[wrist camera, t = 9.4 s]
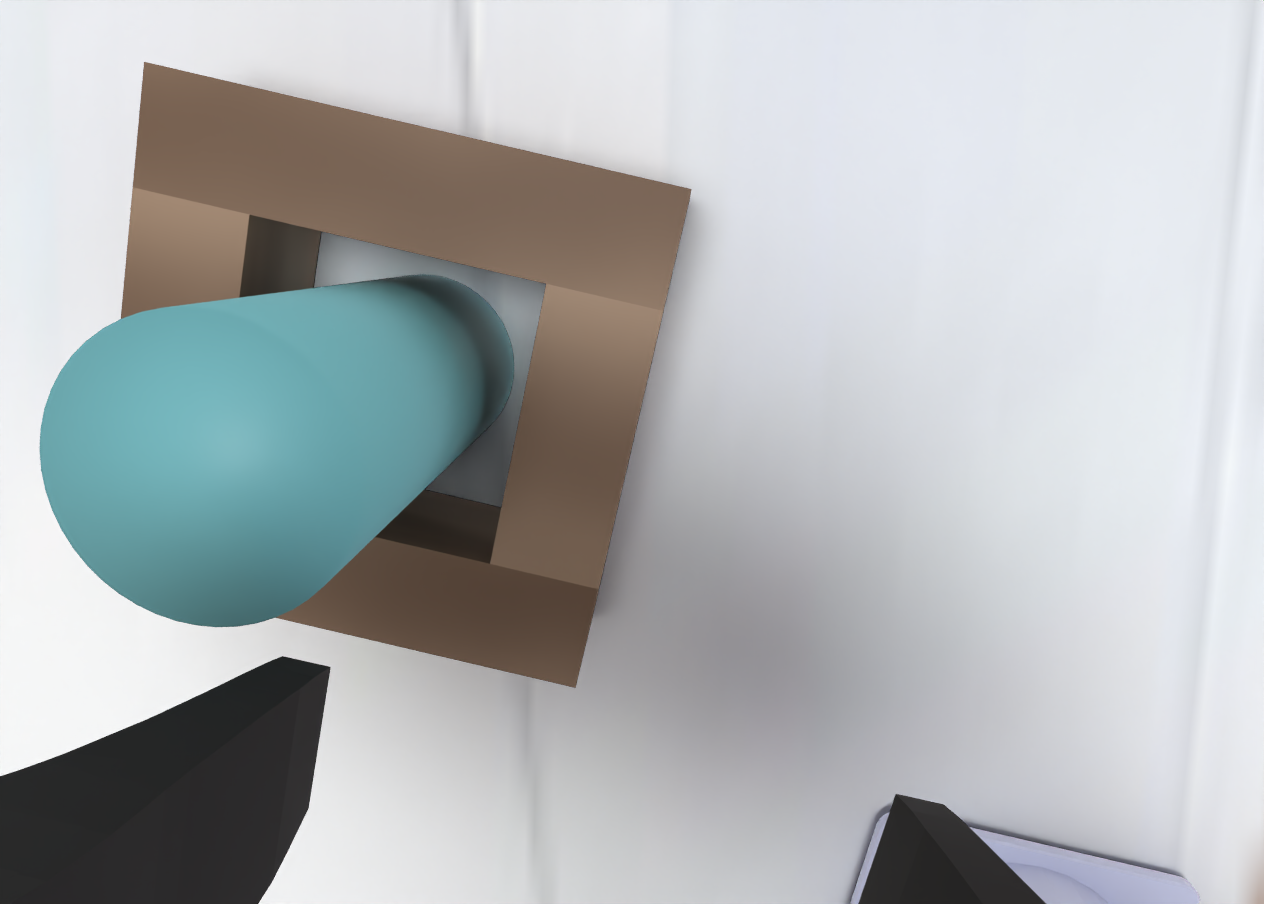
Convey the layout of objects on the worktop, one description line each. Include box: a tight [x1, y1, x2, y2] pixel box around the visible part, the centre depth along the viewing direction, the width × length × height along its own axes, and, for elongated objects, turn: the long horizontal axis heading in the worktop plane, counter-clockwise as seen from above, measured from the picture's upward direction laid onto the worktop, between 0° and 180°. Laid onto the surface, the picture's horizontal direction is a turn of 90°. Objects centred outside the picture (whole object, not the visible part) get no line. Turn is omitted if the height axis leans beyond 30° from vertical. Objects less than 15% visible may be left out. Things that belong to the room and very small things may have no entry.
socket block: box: [121, 62, 691, 688], centre depth 19 cm, size 10×10×4 cm
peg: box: [40, 275, 514, 627], centre depth 16 cm, size 4×4×10 cm
